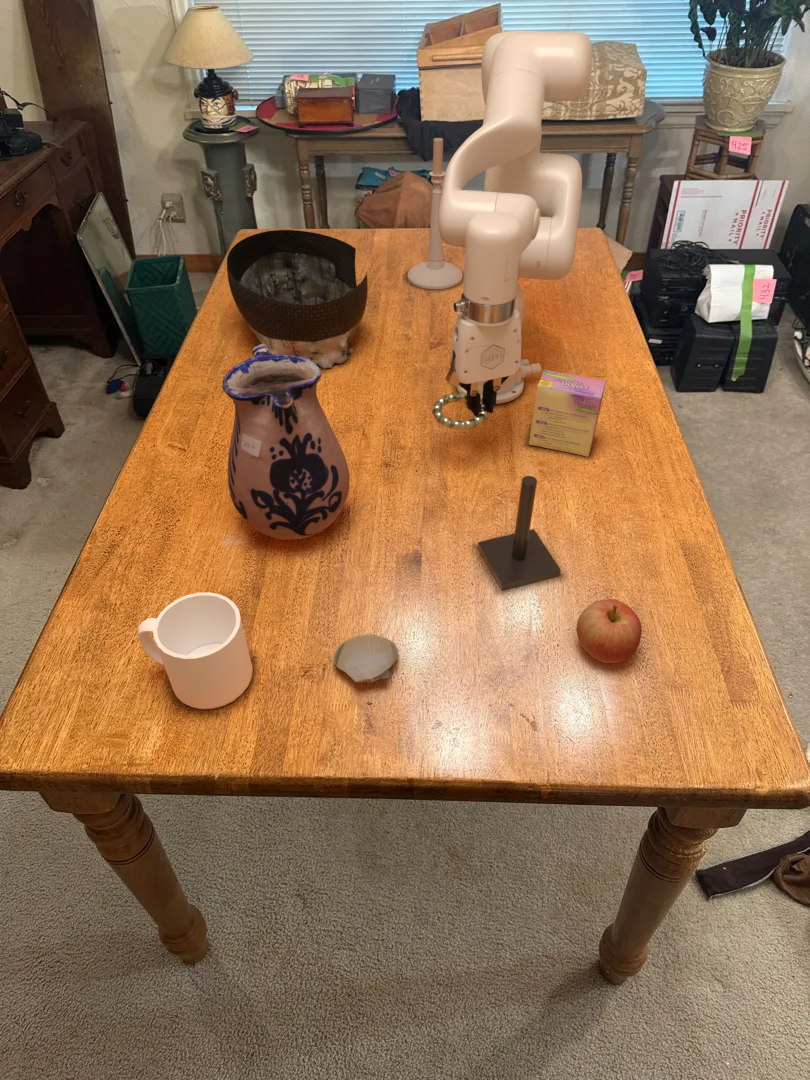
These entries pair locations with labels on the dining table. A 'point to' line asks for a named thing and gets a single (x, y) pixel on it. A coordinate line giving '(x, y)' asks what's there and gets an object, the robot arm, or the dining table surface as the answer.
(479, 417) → the beaded ring
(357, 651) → the seashell
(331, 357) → the basket
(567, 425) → the box
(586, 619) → the apple
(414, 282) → the candlestick
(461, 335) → the robot arm
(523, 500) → the stand
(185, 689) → the mug
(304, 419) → the ceramic pitcher
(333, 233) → the dining table surface
